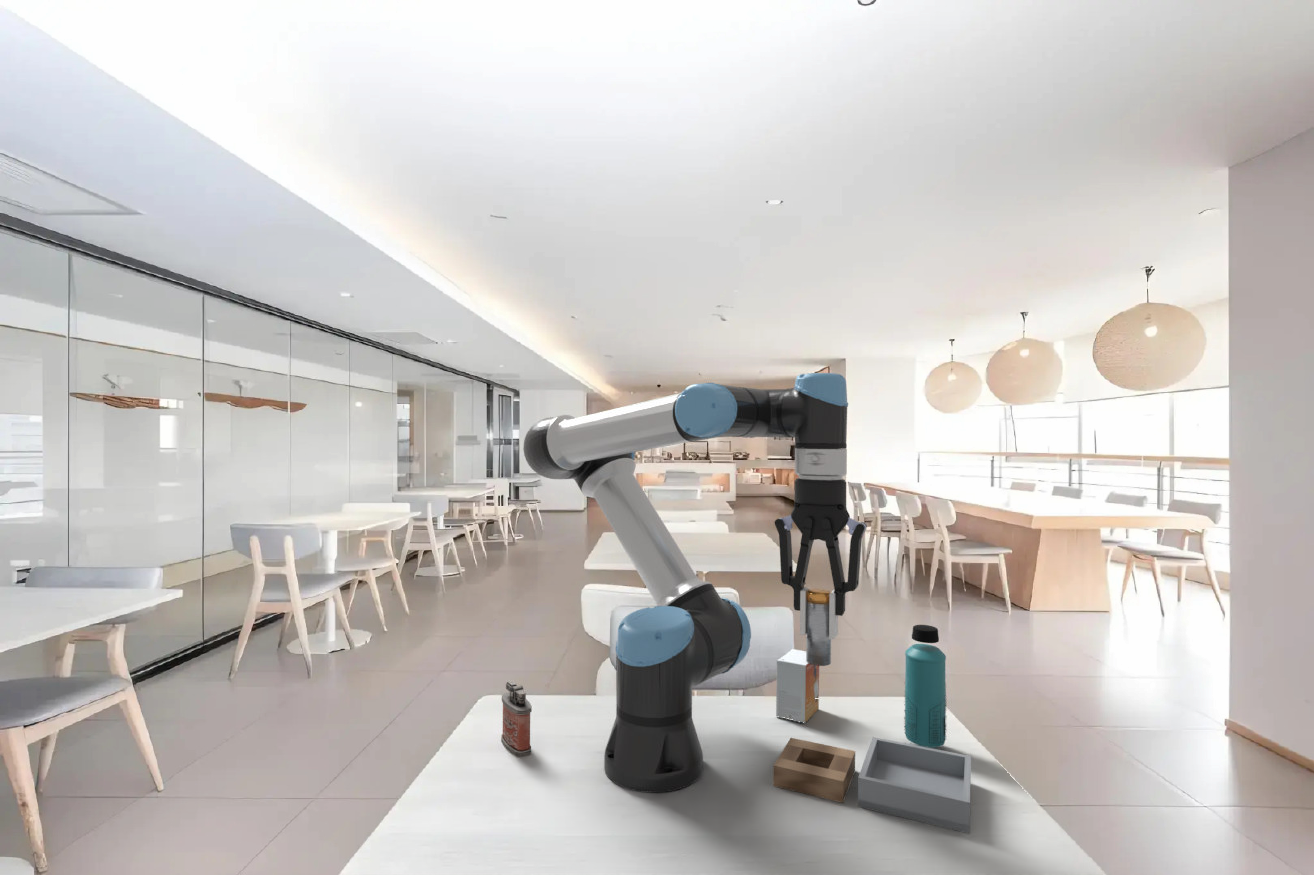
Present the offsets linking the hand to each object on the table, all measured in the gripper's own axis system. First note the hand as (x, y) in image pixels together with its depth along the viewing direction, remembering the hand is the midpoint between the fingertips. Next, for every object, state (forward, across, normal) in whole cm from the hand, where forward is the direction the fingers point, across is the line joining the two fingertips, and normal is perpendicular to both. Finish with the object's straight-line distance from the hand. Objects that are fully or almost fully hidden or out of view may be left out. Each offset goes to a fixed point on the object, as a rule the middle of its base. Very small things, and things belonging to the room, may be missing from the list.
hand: (818, 634), depth 100 cm
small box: (+22, -8, +22) cm, 32 cm away
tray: (+22, +14, +2) cm, 26 cm away
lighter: (+22, -46, -12) cm, 53 cm away
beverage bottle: (+22, +14, +18) cm, 31 cm away
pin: (+4, 0, 0) cm, 4 cm away
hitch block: (+22, 0, 0) cm, 22 cm away
